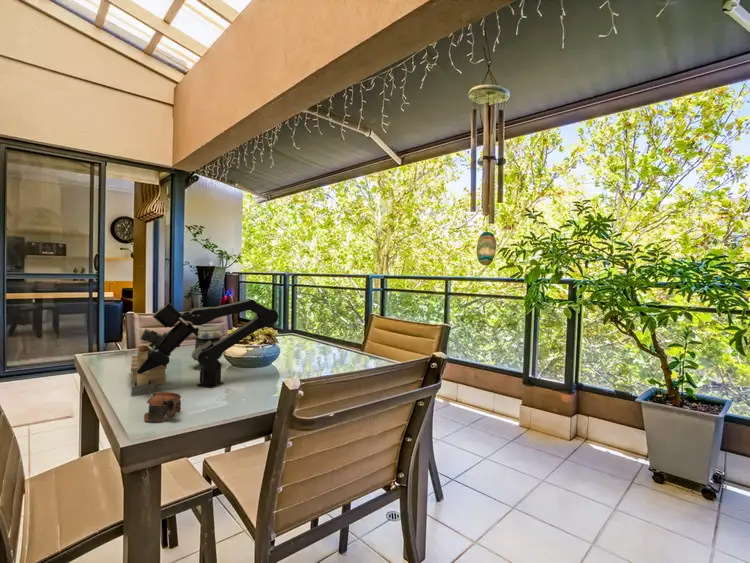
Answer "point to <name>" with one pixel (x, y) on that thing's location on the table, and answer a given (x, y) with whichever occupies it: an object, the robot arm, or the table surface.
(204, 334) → the apothecary jar
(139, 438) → the table surface
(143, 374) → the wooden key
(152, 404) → the brown black chunky piece
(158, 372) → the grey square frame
